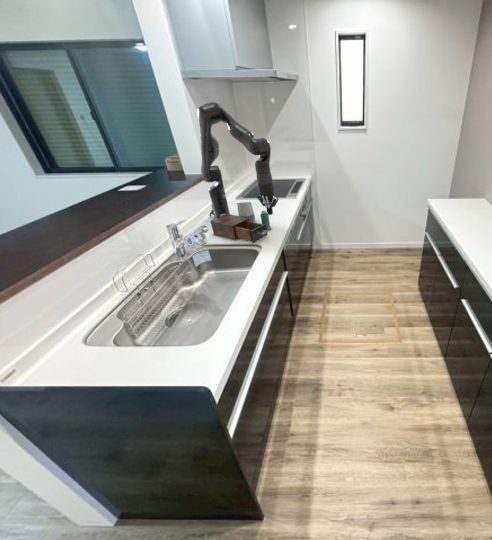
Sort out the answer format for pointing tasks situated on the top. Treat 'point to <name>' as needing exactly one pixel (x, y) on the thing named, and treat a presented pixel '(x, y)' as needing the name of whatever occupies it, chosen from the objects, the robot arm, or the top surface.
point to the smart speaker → (246, 210)
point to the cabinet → (227, 225)
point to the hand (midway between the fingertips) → (270, 214)
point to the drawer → (251, 231)
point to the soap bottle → (265, 219)
